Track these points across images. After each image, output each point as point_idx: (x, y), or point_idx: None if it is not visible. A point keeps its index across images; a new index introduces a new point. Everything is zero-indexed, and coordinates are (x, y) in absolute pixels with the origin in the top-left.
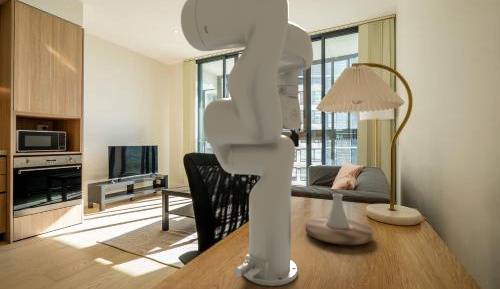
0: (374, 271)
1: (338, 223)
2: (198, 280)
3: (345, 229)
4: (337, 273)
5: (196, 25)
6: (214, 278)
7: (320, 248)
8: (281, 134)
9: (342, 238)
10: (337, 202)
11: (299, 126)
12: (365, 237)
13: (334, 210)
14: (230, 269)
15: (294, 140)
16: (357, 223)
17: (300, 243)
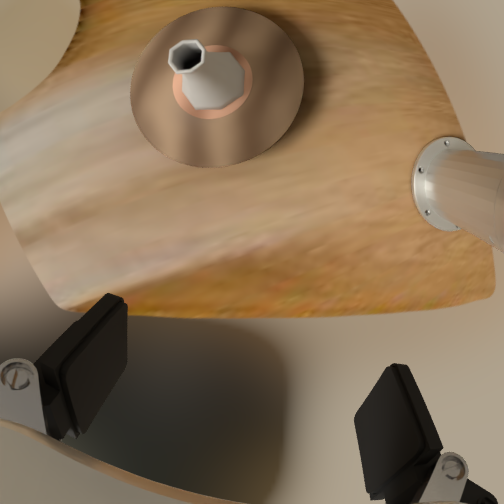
0: (368, 17)
1: (238, 68)
2: (487, 268)
3: None
4: (408, 73)
5: None
6: (481, 252)
7: (317, 108)
8: (440, 444)
9: (299, 57)
10: (208, 59)
11: (12, 450)
12: (261, 16)
13: (220, 73)
14: (459, 244)
15: (99, 363)
16: (161, 46)
17: (310, 157)
